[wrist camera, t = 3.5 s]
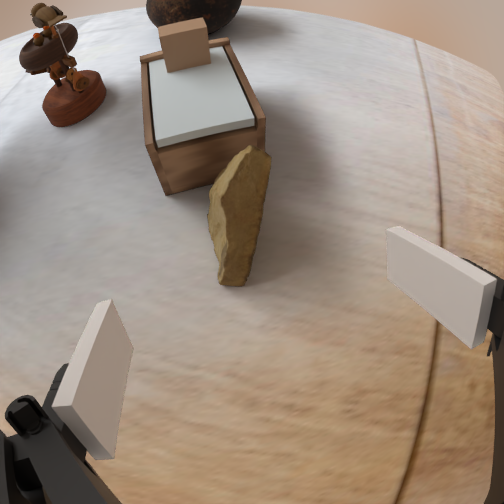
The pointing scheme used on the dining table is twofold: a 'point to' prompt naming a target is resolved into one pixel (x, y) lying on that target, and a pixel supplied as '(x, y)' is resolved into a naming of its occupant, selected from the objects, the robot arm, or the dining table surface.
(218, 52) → the lid
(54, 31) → the wooden bird figurine
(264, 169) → the rock
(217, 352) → the dining table surface
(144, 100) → the box
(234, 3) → the glass bottle
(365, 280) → the dining table surface
